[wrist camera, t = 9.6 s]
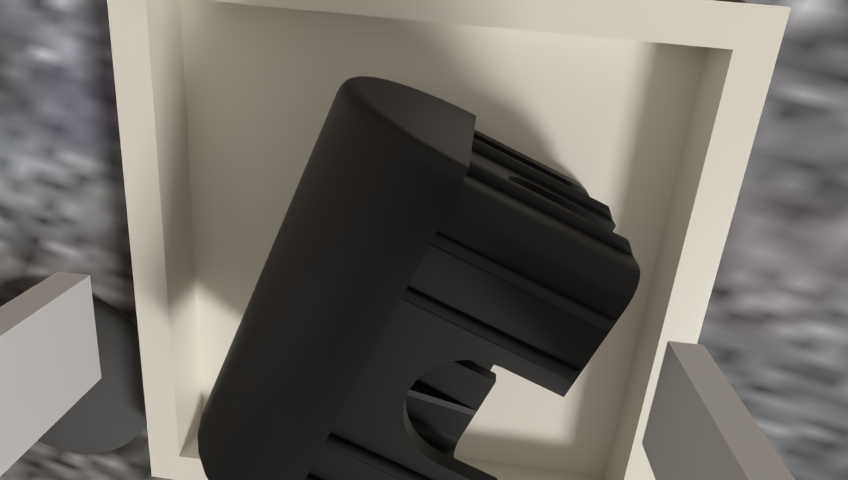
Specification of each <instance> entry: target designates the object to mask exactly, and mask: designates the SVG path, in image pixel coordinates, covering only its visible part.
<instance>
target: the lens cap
mask: <svg viewBox="0 0 848 480" xmlns="http://www.w3.org/2000/svg"><path fill="white" fill-rule="evenodd" d="M92 299H93V308H94V316H95V325H96V334H97V343H98V352H99V360H100V369H101V379H100V380H99V381H98V382H97V383H96V384H95V385H94V386H93V387H92V388H91V389H90V390H89V391H88V392H87V393H86V394H84V395H83V396H82V397H81V398H80V399H79V400H78V401H77V402H76V403H75V404H74V405H73V406H72V407H71V408H70V409H69V410H68V411H67V412H66V413H65V414H64V415H63V416H62V417H61V418H60V419H59V420H58V421H57V422H56V423H55V424H54V425H53V426H52V427H51V428H50V429H49V430H48V431H47V432H45V433H44V434H43V435H42V436H41V437H40V438H39V439H38V441H40V442H42V443H44V444H47V445H49V446H51V447H54V448H57V449H61V450H64V451H69V452H74V453H85V454H89V453H102V452H107V451H111V450H114V449H117V448H119V447H121V446H124V445H125V444H127V443H128V442H130V441H131V440H132V439H134V438H135V437H136V436H137V435H138V434H139V433H140V431H141V430H142V429H143V428H144V427H145V425H146V424H147V419H146V409H145V398H144V387H143V377H142V366H141V356H140V345H139V334H138V329H137V328H136V327H135V326H134V325H133V324H132V323H131V322H130V321H129V320H128V319H127V318H125V317H124V316H123V315H122V314H121V313H119V312H118V311H116V310H115V309H114V308H112V307H111V306H109V305H107V304H105V303H104V302H102V301H100V300H98V299H95V298H93V297H92Z"/></svg>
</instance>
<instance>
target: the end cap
mask: <svg viewBox="0 0 848 480" xmlns="http://www.w3.org/2000/svg"><path fill="white" fill-rule="evenodd" d="M475 121H476V115H474V114H472V113H470V112H468V111H466V110H464V109H461V108H459V107H457V106H455V105H453V104H451V103H449V102H446V101H444V100H442V99H440V98H437V97H435V96H432V95H430V94H428V93H425V92H423V91H420V90H417V89H415V88H412V87H409V86H406V85H403V84H400V83H397V82H393V81H390V80H386V79H381V78H377V77H367V76H358V77H353V78H350V79H347V80H346V81H345V82H344V83H343V84H342V85H341V86H340V88H339V89H338V91H337V94H336V96H335V98H334V101H333V103H332V106H331V108H330V110H329V113H328V115H327V117H326V120H325V122H324V125H323V127H322V129H321V132H320V134H319V136H318V139H317V141H316V144H315V146H314V148H313V151H312V153H311V156H310V158H309V160H308V163H307V165H306V167H305V170H304V172H303V175H302V177H301V179H300V182H299V184H298V186H297V189H296V191H295V194H294V196H293V198H292V201H291V203H290V206H289V208H288V210H287V213H286V215H285V217H284V220H283V222H282V225H281V227H280V229H279V232H278V234H277V236H276V239H275V241H274V244H273V246H272V248H271V251H270V253H269V256H268V258H267V260H266V263H265V265H264V267H263V270H262V272H261V275H260V277H259V279H258V282H257V284H256V286H255V289H254V291H253V294H252V296H251V298H250V301H249V303H248V306H247V308H246V310H245V313H244V315H243V317H242V320H241V322H240V325H239V327H238V329H237V332H236V334H235V336H234V339H233V341H232V344H231V346H230V348H229V351H228V353H227V356H226V358H225V360H224V363H223V365H222V367H221V370H220V372H219V375H218V377H217V379H216V382H215V384H214V386H213V389H212V391H211V394H210V396H209V398H208V401H207V403H206V406H205V408H204V410H203V413H202V415H201V420H200V424H199V429H198V434H197V436H198V453H199V456H200V460H201V463H202V466H203V469H204V472H205V475H206V477H207V479H208V480H497V478H496V477H494V476H492V475H490V474H488V473H485V472H483V471H481V470H479V469H477V468H475V467H473V466H470V465H468V464H466V463H464V462H462V461H460V460H457V459H455V458H454V452H455V448H456V445H457V443H458V441H459V439H460V437H461V436H462V434H463V433H464V431H465V430H466V428H467V426H468V425H469V423H470V422H471V420H472V419H473V417H474V416H475V414H476V412H477V411H478V409H479V408H480V406H481V405H482V403H483V401H484V400H485V398H486V397H487V395H488V394H489V392H490V390H491V389H492V387H493V386H494V384H495V383H496V373H494V372H492V371H490V370H491V369H492V367H493V365H496V366H499V367H502V368H504V369H506V370H508V371H510V372H512V373H514V374H516V375H518V376H521V377H523V378H525V379H527V380H529V381H531V382H533V383H535V384H537V385H539V386H541V387H543V388H546V389H548V390H550V391H552V392H554V393H556V394H558V395H560V396H562V397H564V396H565V395H566V393H567V392H568V391H569V389H570V388H571V386H572V385H573V383H574V382H575V381H576V379H577V378H578V376H579V375H580V373H581V372H582V371H583V369H584V368H585V366H586V365H587V363H588V362H589V361H590V359H591V358H592V356H593V355H594V353H595V352H596V351H597V349H598V348H599V346H600V345H601V343H602V342H603V341H604V339H605V338H606V336H607V335H608V333H609V332H610V331H611V329H612V328H613V326H614V325H615V323H616V322H617V321H618V319H619V318H620V316H621V315H622V313H623V312H624V311H625V309H626V308H627V306H628V305H629V303H630V301H631V300H632V298H633V296H634V294H635V292H636V289H637V287H638V283H639V280H640V268H639V265H638V263H637V261H636V260H635V258H634V256H633V254H632V250H631V246H630V243H629V240H628V239H626V238H624V237H622V236H620V235H618V234H616V233H614V232H613V230H614V229H615V227H616V225H615V223H614V221H613V219H612V215H611V212H610V209H609V206H607V205H605V204H603V203H601V202H599V201H597V200H595V199H593V198H591V197H589V194H588V192H587V190H586V189H585V188H584V187H583V186H582V185H581V184H580V183H579V182H577V181H575V180H573V179H571V178H569V177H567V176H565V175H563V174H561V173H559V172H557V171H555V170H553V169H552V168H550V167H548V166H546V165H544V164H542V163H540V162H538V161H536V160H534V159H532V158H530V157H528V156H526V155H524V154H522V153H520V152H518V151H516V150H514V149H512V148H510V147H508V146H506V145H504V144H502V143H500V142H498V141H496V140H495V139H493V138H491V137H489V136H487V135H485V134H483V133H481V132H479V131H477V130H475V129H474V128H475Z"/></svg>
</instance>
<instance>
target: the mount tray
mask: <svg viewBox="0 0 848 480" xmlns="http://www.w3.org/2000/svg"><path fill="white" fill-rule="evenodd" d="M107 5H108V16H109V26H110V37H111V48H112V58H113V69H114V79H115V90H116V101H117V111H118V122H119V133H120V143H121V154H122V164H123V175H124V186H125V196H126V207H127V217H128V228H129V239H130V249H131V260H132V271H133V281H134V292H135V302H136V313H137V324H138V334H139V345H140V356H141V366H142V377H143V387H144V398H145V409H146V419H147V430H148V440H149V451H150V462H151V472H152V476H153V477H160V478H167V479H174V480H208V479H207V477H206V475H205V472H204V469H203V466H202V463H201V460H200V456H199V453H198V436H197V434H198V429H199V424H200V420H201V415H202V413H203V410H204V408H205V406H206V403H207V401H208V398H209V396H210V394H211V391H212V389H213V386H214V384H215V382H216V379H217V377H218V375H219V372H220V370H221V367H222V365H223V363H224V360H225V358H226V356H227V353H228V351H229V348H230V346H231V344H232V341H233V339H234V336H235V334H236V332H237V329H238V327H239V325H240V322H241V320H242V317H243V315H244V313H245V310H246V308H247V306H248V303H249V301H250V298H251V296H252V294H253V291H254V289H255V286H256V284H257V282H258V279H259V277H260V275H261V272H262V270H263V267H264V265H265V263H266V260H267V258H268V256H269V253H270V251H271V248H272V246H273V244H274V241H275V239H276V236H277V234H278V232H279V229H280V227H281V225H282V222H283V220H284V217H285V215H286V213H287V210H288V208H289V206H290V203H291V201H292V198H293V196H294V194H295V191H296V189H297V186H298V184H299V182H300V179H301V177H302V175H303V172H304V170H305V167H306V165H307V163H308V160H309V158H310V156H311V153H312V151H313V148H314V146H315V144H316V141H317V139H318V136H319V134H320V132H321V129H322V127H323V125H324V122H325V120H326V117H327V115H328V113H329V110H330V108H331V106H332V103H333V101H334V98H335V96H336V94H337V91H338V89H339V88H340V86H341V85H342V84H343V83H344V82H345V81H346V80H347V79H350V78H353V77H358V76H367V77H377V78H381V79H386V80H390V81H393V82H397V83H400V84H403V85H406V86H409V87H412V88H415V89H417V90H420V91H423V92H425V93H428V94H430V95H432V96H435V97H437V98H440V99H442V100H444V101H446V102H449V103H451V104H453V105H455V106H457V107H459V108H461V109H464V110H466V111H468V112H470V113H472V114H474V115H476V121H475V128H474V129H475V130H477V131H479V132H481V133H483V134H485V135H487V136H489V137H491V138H493V139H495V140H496V141H498V142H500V143H502V144H504V145H506V146H508V147H510V148H512V149H514V150H516V151H518V152H520V153H522V154H524V155H526V156H528V157H530V158H532V159H534V160H536V161H538V162H540V163H542V164H544V165H546V166H548V167H550V168H552V169H553V170H555V171H557V172H559V173H561V174H563V175H565V176H567V177H569V178H571V179H573V180H575V181H577V182H579V183H580V184H581V185H582V186H583V187H584V188H585V189H586V190H587V192H588V194H589V197H591V198H593V199H595V200H597V201H599V202H601V203H603V204H605V205H607V206H609V209H610V212H611V215H612V219H613V221H614V223H615V225H616V227H615V229H614V230H613V232H614V233H616V234H618V235H620V236H622V237H624V238H626V239H628V240H629V243H630V246H631V250H632V254H633V256H634V258H635V260H636V261H637V263H638V265H639V268H640V280H639V283H638V287H637V289H636V292H635V294H634V296H633V298H632V300H631V301H630V303H629V305H628V306H627V308H626V309H625V311H624V312H623V313H622V315H621V316H620V318H619V319H618V321H617V322H616V323H615V325H614V326H613V328H612V329H611V331H610V332H609V333H608V335H607V336H606V338H605V339H604V341H603V342H602V343H601V345H600V346H599V348H598V349H597V351H596V352H595V353H594V355H593V356H592V358H591V359H590V361H589V362H588V363H587V365H586V366H585V368H584V369H583V371H582V372H581V373H580V375H579V376H578V378H577V379H576V381H575V382H574V383H573V385H572V386H571V388H570V389H569V391H568V392H567V393H566V395H565V396H564V397H562V396H560V395H558V394H556V393H554V392H552V391H550V390H548V389H546V388H543V387H541V386H539V385H537V384H535V383H533V382H531V381H529V380H527V379H525V378H523V377H521V376H518V375H516V374H514V373H512V372H510V371H508V370H506V369H504V368H502V367H499V366H496V365H493V367H492V369H491V370H490V371H492V372H494V373H496V383H495V384H494V386H493V387H492V389H491V390H490V392H489V394H488V395H487V397H486V398H485V400H484V401H483V403H482V405H481V406H480V408H479V409H478V411H477V412H476V414H475V416H474V417H473V419H472V420H471V422H470V423H469V425H468V426H467V428H466V430H465V431H464V433H463V434H462V436H461V437H460V439H459V441H458V443H457V445H456V448H455V452H454V458H455V459H457V460H460V461H462V462H464V463H466V464H468V465H470V466H473V467H475V468H477V469H479V470H481V471H483V472H485V473H488V474H490V475H492V476H494V477H496V478H497V480H656V479H655V477H654V474H653V471H652V469H651V466H650V464H649V461H648V458H647V456H646V453H645V451H644V448H643V445H642V440H643V436H644V433H645V429H646V425H647V421H648V417H649V413H650V409H651V405H652V401H653V397H654V393H655V389H656V385H657V381H658V378H659V374H660V370H661V366H662V362H663V358H664V354H665V350H666V346H667V342H668V341H674V342H682V343H691V344H697V341H698V338H699V334H700V331H701V327H702V324H703V320H704V316H705V313H706V309H707V306H708V302H709V299H710V295H711V291H712V288H713V284H714V281H715V277H716V274H717V270H718V266H719V263H720V259H721V256H722V252H723V249H724V245H725V241H726V238H727V234H728V231H729V227H730V224H731V220H732V216H733V213H734V209H735V206H736V202H737V199H738V195H739V191H740V188H741V184H742V181H743V177H744V174H745V170H746V166H747V163H748V159H749V156H750V152H751V149H752V145H753V141H754V138H755V134H756V131H757V127H758V124H759V120H760V116H761V113H762V109H763V106H764V102H765V98H766V95H767V91H768V88H769V84H770V81H771V77H772V73H773V70H774V66H775V63H776V59H777V56H778V52H779V48H780V45H781V41H782V38H783V34H784V31H785V27H786V23H787V20H788V16H789V13H790V9H791V7H783V6H772V5H760V4H749V3H738V2H726V1H715V0H107Z"/></svg>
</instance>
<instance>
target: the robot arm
mask: <svg viewBox="0 0 848 480" xmlns="http://www.w3.org/2000/svg"><path fill="white" fill-rule="evenodd" d="M100 379H101V369H100V360H99V352H98V343H97V334H96V325H95V316H94V308H93V299H92V290H91V281H90V275H83V274H75V273H66V272H56V273H54V274H53V275H51V276H50V277H48V278H46V279H45V280H43V281H41V282H40V283H38V284H37V285H35V286H33V287H32V288H30V289H29V290H27V291H25V292H24V293H22V294H20V295H19V296H17V297H16V298H14V299H12V300H11V301H9V302H8V303H6V304H4V305H3V306H1V307H0V476H1V475H2V474H3V473H4V472H5V471H7V470H8V469H9V468H10V467H11V466H12V465H13V464H14V463H15V462H16V461H17V460H18V459H19V458H20V457H21V456H22V455H23V454H24V453H25V452H26V451H27V450H28V449H29V448H30V447H31V446H32V445H33V444H34V443H35V442H36V441H37V440H38V439H39V438H40V437H41V436H42V435H43V434H44V433H45V432H47V431H48V430H49V429H50V428H51V427H52V426H53V425H54V424H55V423H56V422H57V421H58V420H59V419H60V418H61V417H62V416H63V415H64V414H65V413H66V412H67V411H68V410H69V409H70V408H71V407H72V406H73V405H74V404H75V403H76V402H77V401H78V400H79V399H80V398H81V397H82V396H83V395H84V394H86V393H87V392H88V391H89V390H90V389H91V388H92V387H93V386H94V385H95V384H96V383H97V382H98V381H99V380H100ZM642 445H643V448H644V451H645V453H646V456H647V458H648V461H649V464H650V466H651V469H652V471H653V474H654V477H655V479H656V480H795V479H794V477H793V476H792V475H791V473H790V472H789V470H788V469H787V467H786V466H785V464H784V463H783V461H782V460H781V458H780V457H779V455H778V454H777V453H776V451H775V450H774V448H773V447H772V445H771V444H770V442H769V441H768V439H767V438H766V436H765V435H764V433H763V432H762V431H761V429H760V428H759V426H758V425H757V423H756V422H755V420H754V419H753V417H752V416H751V414H750V413H749V411H748V410H747V409H746V407H745V406H744V404H743V403H742V401H741V400H740V398H739V397H738V395H737V394H736V392H735V391H734V389H733V388H732V387H731V385H730V384H729V382H728V381H727V379H726V378H725V376H724V375H723V373H722V372H721V370H720V369H719V367H718V366H717V365H716V363H715V362H714V360H713V359H712V357H711V356H710V354H709V353H708V351H707V350H706V348H705V347H704V345H700V344H691V343H682V342H674V341H668V342H667V346H666V350H665V354H664V358H663V362H662V366H661V370H660V374H659V378H658V381H657V385H656V389H655V393H654V397H653V401H652V405H651V409H650V413H649V417H648V421H647V425H646V429H645V433H644V436H643V440H642Z"/></svg>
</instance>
